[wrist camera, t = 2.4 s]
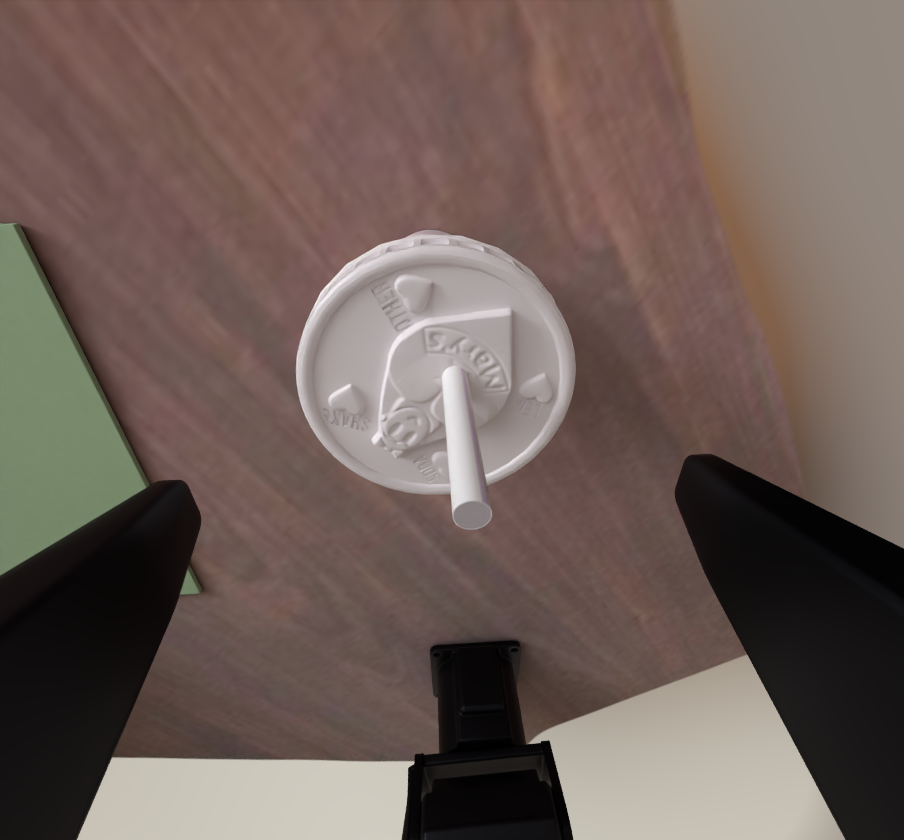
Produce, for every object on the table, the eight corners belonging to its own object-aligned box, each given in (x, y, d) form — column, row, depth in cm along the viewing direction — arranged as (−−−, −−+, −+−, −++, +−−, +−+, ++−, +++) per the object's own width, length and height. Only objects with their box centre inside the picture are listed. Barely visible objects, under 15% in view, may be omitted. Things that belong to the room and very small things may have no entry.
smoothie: (541, 266, 18) (761, 505, 6) (442, 377, 21) (469, 697, 9) (416, 148, 16) (396, 183, 4) (321, 290, 18) (133, 571, 6)
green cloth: (202, 589, 28) (200, 593, 27) (2, 600, 27) (-2, 605, 27) (19, 222, 16) (13, 224, 16) (-327, 233, 16) (-340, 234, 16)
